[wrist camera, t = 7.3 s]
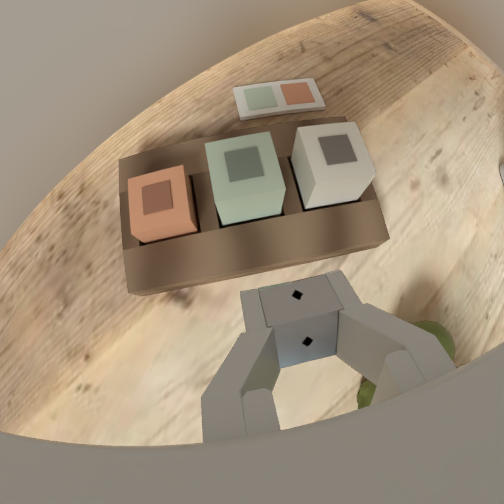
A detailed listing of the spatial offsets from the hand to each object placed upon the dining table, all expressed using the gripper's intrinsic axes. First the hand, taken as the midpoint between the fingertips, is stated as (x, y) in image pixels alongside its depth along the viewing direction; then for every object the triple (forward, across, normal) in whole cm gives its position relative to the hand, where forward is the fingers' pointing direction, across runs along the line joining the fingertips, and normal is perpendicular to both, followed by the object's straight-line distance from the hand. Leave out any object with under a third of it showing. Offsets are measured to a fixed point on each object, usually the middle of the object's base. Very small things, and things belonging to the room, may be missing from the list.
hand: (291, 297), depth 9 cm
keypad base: (+18, 0, +5) cm, 18 cm away
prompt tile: (+26, -6, -3) cm, 27 cm away
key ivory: (+16, -7, +3) cm, 17 cm away
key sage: (+16, 0, +3) cm, 16 cm away
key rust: (+17, +6, +4) cm, 19 cm away
